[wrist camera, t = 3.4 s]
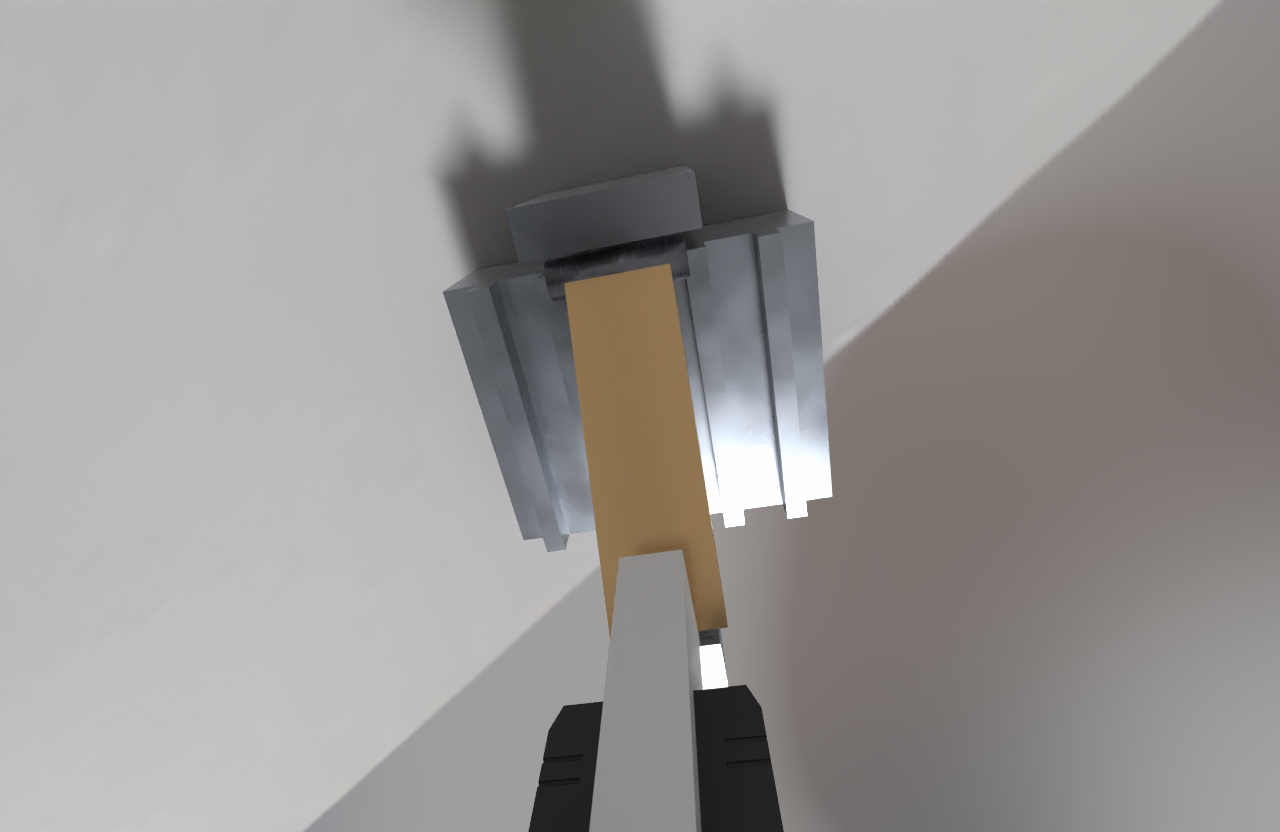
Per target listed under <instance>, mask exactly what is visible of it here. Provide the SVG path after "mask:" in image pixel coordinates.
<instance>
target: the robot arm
mask: <svg viewBox="0 0 1280 832" xmlns="http://www.w3.org/2000/svg"><path fill="white" fill-rule="evenodd" d="M609 646H610V647H609V654H608V664H607V673H606V682H605V691H604V701H603V702H595V703H587V704H577V705H567V706H563V708H562V710H561V711H560V713H559V715H558V716H557V718H556V719H555V721H554V723H553V724H552V726H551V728H550V730H549V732H548V737H547V742H546V747H545V752H544V757H543V760H544V762H543V764H542V767H541V772H540V777H539V787H537V792H536V797H535V802H534V807H533V812H532V817H531V822H530V827H529V832H784V831H783V825H782V820H781V814H780V809H779V804H778V798H777V792H776V786H775V781H774V775H773V770H772V765H771V759H770V754H769V747H768V742H767V736H766V731H765V726H764V720H763V714H762V709H761V706H760V705H759V703H758V702H757V700H756V699H755V698H754V696H753V695H752V693H751V692H750V690H749V689H748V687H747V686H746V685H740V686H730V687H721V688H712V689H703V679H702V666H701V653H700V640H699V634H698V629H697V623H696V618H695V613H694V608H693V603H692V598H691V592H690V587H689V582H688V577H687V572H686V567H685V561H684V556H683V551H682V550H674V551H667V552H659V553H652V554H644V555H636V556H629V557H621V558H619V563H618V572H617V582H616V591H615V600H614V609H613V618H612V627H611V636H610V645H609Z"/></svg>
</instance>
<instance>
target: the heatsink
mask: <svg viewBox="0 0 1280 832" xmlns="http://www.w3.org/2000/svg"><path fill="white" fill-rule="evenodd" d="M505 213H506V217H507V221H508V225H509V228H510V232H511V236H512V240H513V243H514V247H515V251H516V254H517V258H518V262H513V263H508V264H502V265H497V266H492V267H487V268H482V269H477V270H476V271H474V272H472V273H471V274H469V275H468V276H466V277H465V278H463V279H462V280H460V281H459V282H457V283H456V284H454V285H452V286H451V287H449V288H448V289H446V290H445V291H443V294H444V297H445V300H446V303H447V306H448V309H449V312H450V315H451V318H452V321H453V324H454V327H455V330H456V334H457V337H458V340H459V343H460V346H461V349H462V352H463V355H464V358H465V361H466V364H467V367H468V370H469V373H470V377H471V380H472V383H473V386H474V389H475V392H476V395H477V398H478V401H479V404H480V407H481V410H482V413H483V416H484V420H485V423H486V426H487V429H488V432H489V435H490V438H491V441H492V444H493V447H494V450H495V453H496V456H497V459H498V463H499V466H500V469H501V472H502V475H503V478H504V481H505V484H506V487H507V490H508V493H509V496H510V499H511V502H512V506H513V509H514V512H515V515H516V518H517V521H518V524H519V527H520V530H521V533H522V536H523V539H524V540H529V539H536V538H543V539H544V542H545V546H546V549H547V552H551V551H558V550H565V549H566V545H567V541H568V537H569V534H571V533H578V532H585V531H592V530H596V525H595V518H594V510H593V502H592V495H591V487H590V479H589V471H588V464H587V456H586V448H585V440H584V433H583V425H582V417H581V410H580V402H579V394H578V386H577V379H576V371H575V363H574V355H573V348H572V340H571V332H570V325H569V317H568V309H567V301H561V302H555V303H554V302H553V301H552V299H551V297H550V295H549V292H548V289H547V285H546V280H545V274H544V263H545V261H547V260H553V259H558V258H563V257H568V256H574V255H579V254H584V253H589V252H594V251H600V250H605V249H610V248H615V247H620V246H626V245H631V244H636V243H641V242H646V241H652V240H657V239H662V238H667V237H672V236H678V235H683V234H684V238H685V244H686V250H687V256H688V263H689V270H690V278H686V279H680V280H675V281H673V282H674V289H675V295H676V301H677V307H678V314H679V320H680V326H681V333H682V339H683V345H684V351H685V358H686V364H687V370H688V377H689V383H690V389H691V396H692V402H693V408H694V414H695V421H696V427H697V433H698V440H699V446H700V452H701V459H702V465H703V471H704V477H705V484H706V490H707V496H708V503H709V509H710V514H713V513H719V512H723V515H724V521H725V526H726V527H730V526H739V525H745V524H744V517H743V516H744V515H743V509H748V508H755V507H761V506H769V505H776V504H783V506H784V510H785V512H786V515H787V518H796V517H803V516H807V508H806V500H812V499H818V498H826V497H832V485H831V471H830V456H829V441H828V426H827V414H826V413H827V412H826V397H825V383H824V367H823V353H822V338H821V323H820V308H819V294H818V279H817V264H816V249H815V235H814V221H812V220H810V219H808V218H805V217H803V216H801V215H799V214H797V213H795V212H792V211H790V210H788V209H787V210H782V211H777V212H772V213H767V214H761V215H756V216H751V217H746V218H741V219H736V220H730V221H725V222H720V223H715V224H710V225H704V226H703V225H702V218H701V211H700V204H699V197H698V190H697V182H696V175H695V171H694V170H692V169H691V168H689V167H687V166H685V165H681V166H677V167H672V168H667V169H662V170H657V171H652V172H647V173H642V174H637V175H633V176H628V177H623V178H618V179H613V180H608V181H603V182H598V183H593V184H589V185H584V186H579V187H574V188H569V189H564V190H559V191H554V192H550V193H547V194H544V195H542V196H539V197H537V198H534V199H531V200H529V201H526V202H523V203H521V204H518V205H515V206H513V207H510V208H507V209H505ZM698 634H699V640H700V653H701V666H702V679H703V689H712V688H721V687H728V683H727V675H726V667H725V659H724V651H723V644H722V636H721V628H717V629H709V630H701V631H698Z"/></svg>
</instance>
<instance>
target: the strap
mask: <svg viewBox="0 0 1280 832" xmlns="http://www.w3.org/2000/svg"><path fill="white" fill-rule="evenodd" d="M544 274H545V280H546V285H547V289H548V292H549V295H550V297H551V299H552V301H553V302H554V303H555V302H561V301H567V309H568V317H569V325H570V332H571V340H572V348H573V355H574V363H575V371H576V379H577V386H578V394H579V402H580V410H581V417H582V425H583V433H584V440H585V448H586V456H587V464H588V471H589V479H590V487H591V495H592V502H593V510H594V518H595V525H596V533H597V541H598V549H599V556H600V564H601V571H602V579H603V587H604V594H605V603H606V610H607V618H608V626H609V634H610V636H611V627H612V618H613V609H614V600H615V591H616V582H617V572H618V563H619V558H621V557H629V556H636V555H644V554H652V553H659V552H667V551H674V550H682V551H683V556H684V561H685V567H686V572H687V577H688V582H689V587H690V592H691V598H692V603H693V608H694V613H695V618H696V623H697V629H698V631H701V630H709V629H717V628H725V627H728V625H727V616H726V610H725V604H724V597H723V591H722V584H721V579H720V573H719V566H718V560H717V554H716V547H715V540H714V534H713V528H712V521H711V515H710V509H709V503H708V496H707V490H706V484H705V477H704V471H703V465H702V459H701V452H700V446H699V440H698V433H697V427H696V421H695V414H694V408H693V402H692V396H691V389H690V383H689V377H688V370H687V364H686V358H685V351H684V345H683V339H682V333H681V326H680V320H679V314H678V307H677V301H676V295H675V289H674V282H673V281H675V280H680V279H686V278H690V270H689V263H688V256H687V250H686V244H685V238H684V234H683V235H678V236H672V237H667V238H662V239H657V240H652V241H646V242H641V243H636V244H631V245H626V246H620V247H615V248H610V249H605V250H600V251H594V252H589V253H584V254H579V255H574V256H568V257H563V258H558V259H553V260H547V261H545V263H544Z"/></svg>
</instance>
